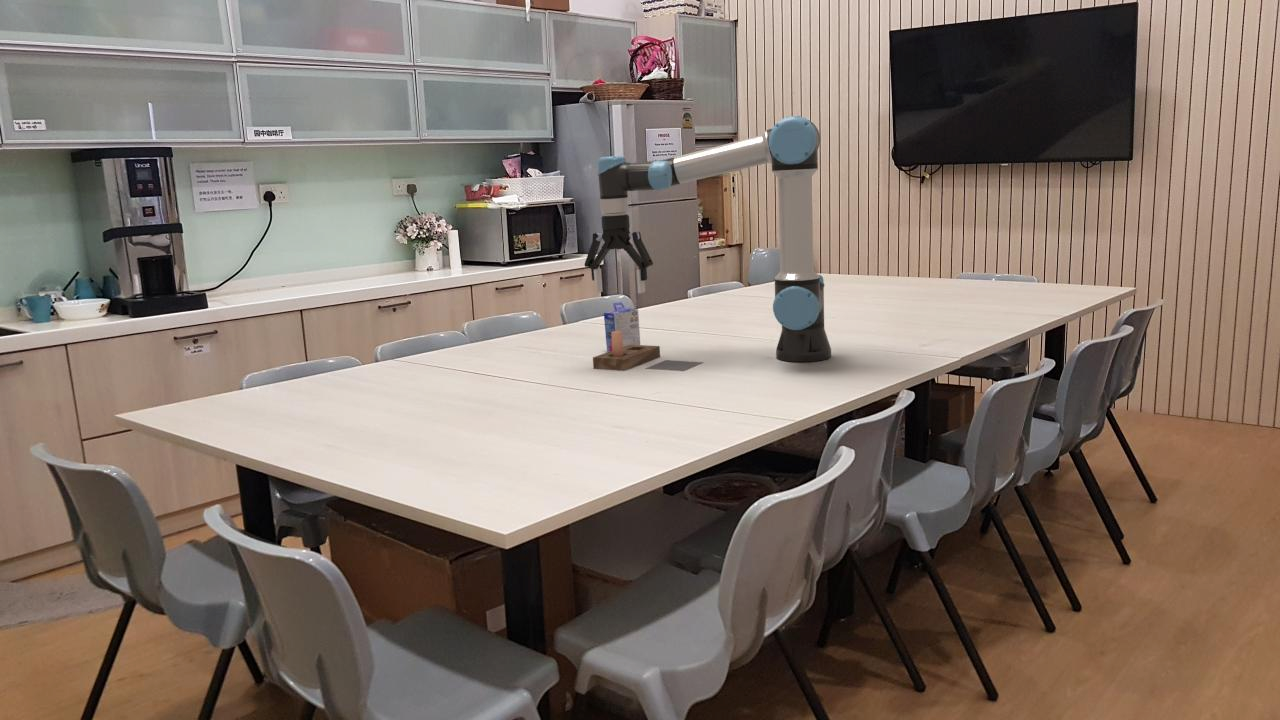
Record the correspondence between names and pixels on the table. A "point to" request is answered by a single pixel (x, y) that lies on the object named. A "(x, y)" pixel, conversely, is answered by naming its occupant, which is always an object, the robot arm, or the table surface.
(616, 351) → the peg
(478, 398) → the table surface
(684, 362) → the mat
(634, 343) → the ink cartridge box
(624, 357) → the socket block
